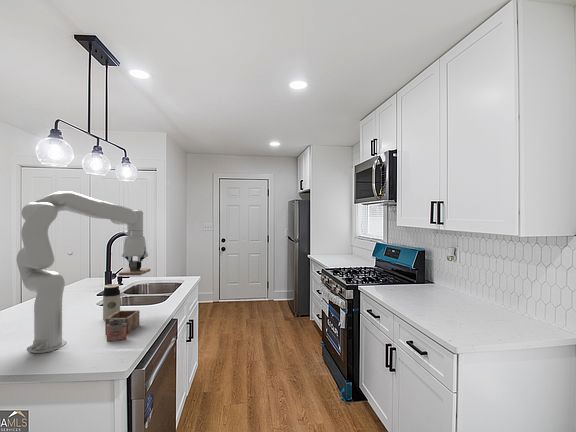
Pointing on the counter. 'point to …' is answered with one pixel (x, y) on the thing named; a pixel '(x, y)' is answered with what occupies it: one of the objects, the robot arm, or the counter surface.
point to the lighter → (116, 330)
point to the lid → (134, 270)
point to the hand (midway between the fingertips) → (135, 268)
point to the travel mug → (111, 300)
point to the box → (130, 319)
